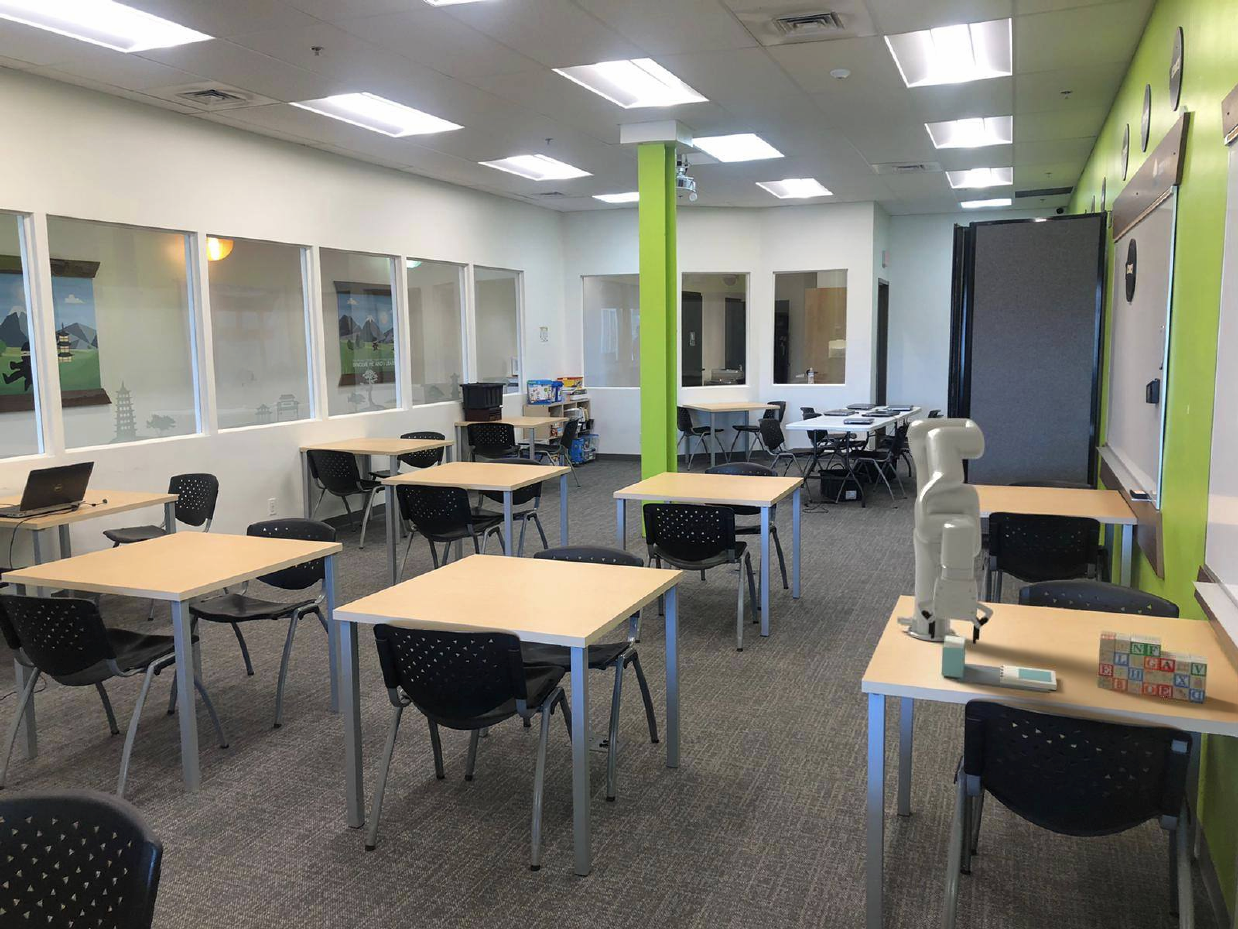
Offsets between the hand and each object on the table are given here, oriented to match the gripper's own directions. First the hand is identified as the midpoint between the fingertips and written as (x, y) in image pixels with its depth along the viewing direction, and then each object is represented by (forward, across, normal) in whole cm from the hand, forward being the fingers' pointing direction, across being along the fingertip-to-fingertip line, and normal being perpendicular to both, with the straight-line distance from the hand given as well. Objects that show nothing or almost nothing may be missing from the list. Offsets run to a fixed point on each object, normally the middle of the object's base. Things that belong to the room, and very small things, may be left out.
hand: (953, 639), depth 228 cm
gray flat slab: (+8, +12, -2) cm, 15 cm away
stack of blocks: (+8, +43, +2) cm, 44 cm away
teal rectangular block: (+8, 0, -2) cm, 8 cm away
